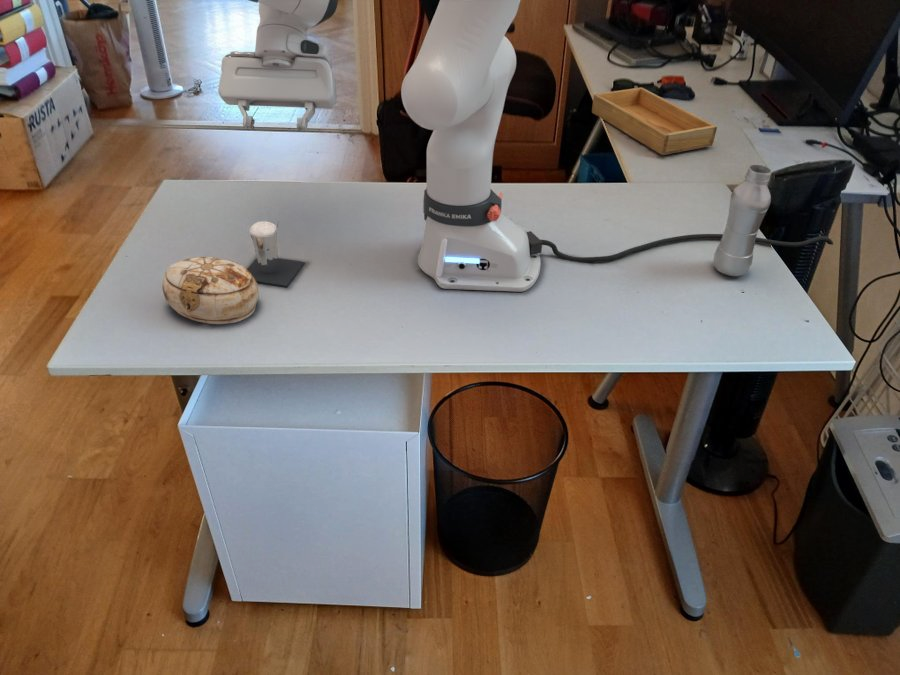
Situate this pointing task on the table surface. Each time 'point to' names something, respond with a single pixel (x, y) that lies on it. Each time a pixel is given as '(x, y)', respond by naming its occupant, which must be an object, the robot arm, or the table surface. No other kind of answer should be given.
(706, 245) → the table surface
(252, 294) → the trinket box
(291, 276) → the mat
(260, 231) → the milkshake
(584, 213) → the table surface
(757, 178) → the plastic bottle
